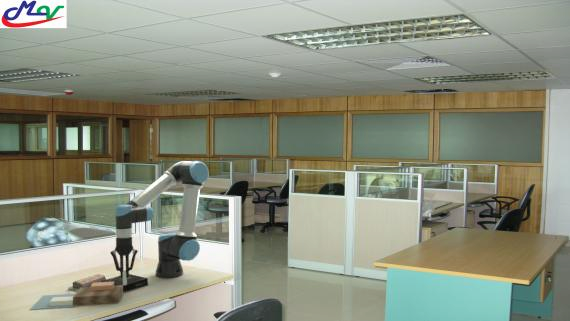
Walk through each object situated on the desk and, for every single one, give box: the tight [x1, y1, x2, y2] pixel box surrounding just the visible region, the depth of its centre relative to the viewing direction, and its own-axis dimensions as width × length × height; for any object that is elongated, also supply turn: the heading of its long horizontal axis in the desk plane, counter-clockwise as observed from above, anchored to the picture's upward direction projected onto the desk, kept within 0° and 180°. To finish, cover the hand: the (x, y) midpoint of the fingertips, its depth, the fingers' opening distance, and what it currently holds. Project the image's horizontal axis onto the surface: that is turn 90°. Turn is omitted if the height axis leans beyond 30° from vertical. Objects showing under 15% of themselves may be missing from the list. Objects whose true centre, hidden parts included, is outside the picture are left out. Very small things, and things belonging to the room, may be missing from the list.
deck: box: [73, 285, 124, 307], centre depth 235 cm, size 20×15×4 cm
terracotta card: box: [90, 282, 114, 291], centre depth 239 cm, size 10×6×2 cm, turn 100°
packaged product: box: [67, 274, 107, 293], centre depth 256 cm, size 18×5×10 cm
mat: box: [29, 293, 76, 311], centre depth 232 cm, size 18×20×1 cm
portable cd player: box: [101, 273, 149, 294], centre depth 256 cm, size 16×17×4 cm
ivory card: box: [50, 296, 74, 306], centre depth 228 cm, size 10×6×2 cm, turn 99°
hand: (124, 284), depth 241 cm, fingers closed
